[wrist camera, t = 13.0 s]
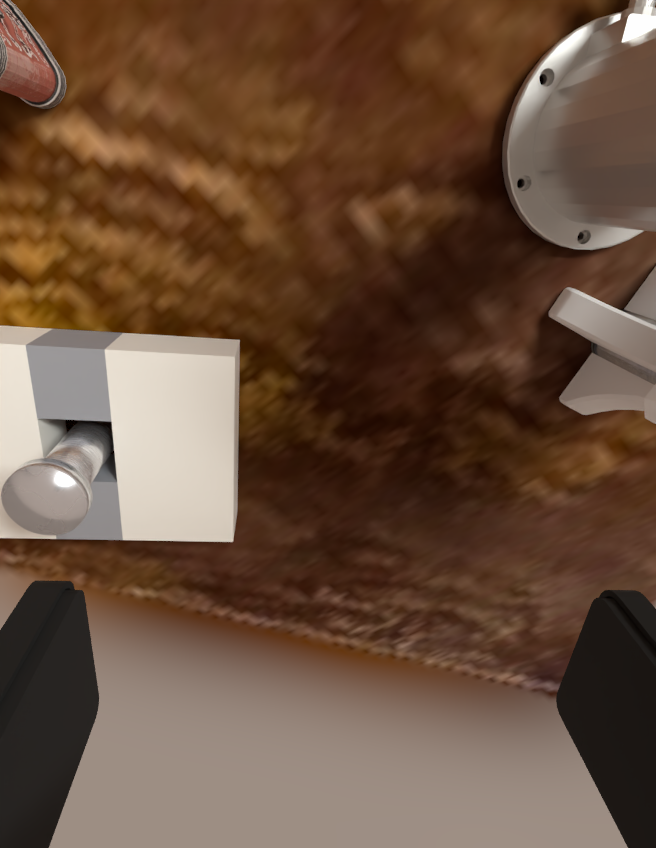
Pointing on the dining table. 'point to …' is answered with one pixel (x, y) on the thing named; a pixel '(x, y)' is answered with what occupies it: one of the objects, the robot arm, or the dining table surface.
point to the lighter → (27, 61)
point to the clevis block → (129, 427)
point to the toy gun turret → (612, 351)
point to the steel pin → (59, 481)
